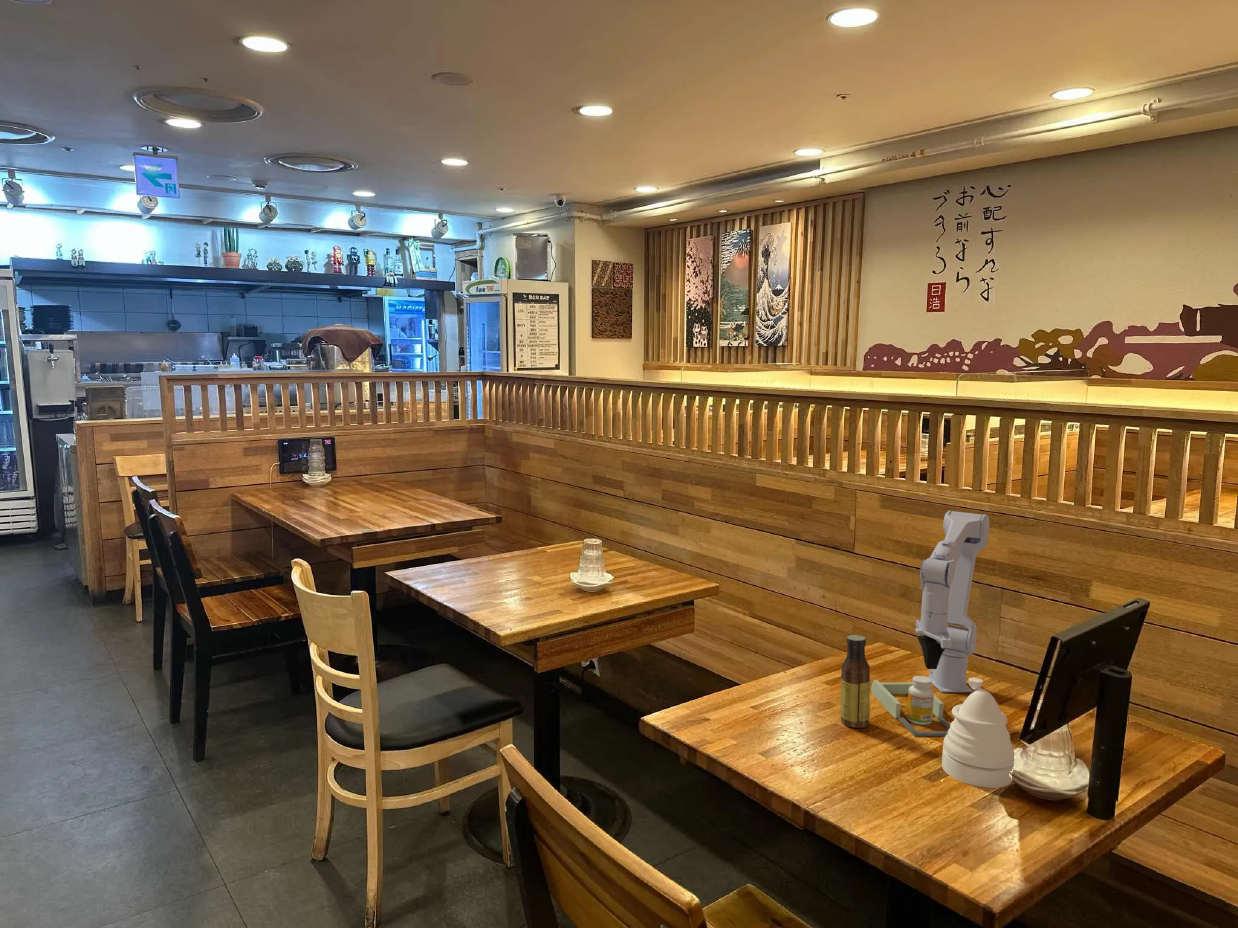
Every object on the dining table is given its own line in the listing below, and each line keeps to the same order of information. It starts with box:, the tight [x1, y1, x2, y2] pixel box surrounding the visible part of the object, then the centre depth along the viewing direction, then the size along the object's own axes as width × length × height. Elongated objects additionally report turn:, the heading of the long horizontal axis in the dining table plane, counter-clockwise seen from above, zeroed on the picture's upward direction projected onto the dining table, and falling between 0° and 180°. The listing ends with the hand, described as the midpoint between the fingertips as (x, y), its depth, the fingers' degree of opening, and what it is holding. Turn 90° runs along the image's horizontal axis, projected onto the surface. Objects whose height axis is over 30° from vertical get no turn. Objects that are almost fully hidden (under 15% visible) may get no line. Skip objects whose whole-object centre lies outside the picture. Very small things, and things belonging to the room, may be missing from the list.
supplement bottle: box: [906, 675, 935, 726], centre depth 183 cm, size 5×5×10 cm
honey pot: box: [941, 677, 1015, 789], centre depth 160 cm, size 13×13×18 cm
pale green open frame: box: [870, 679, 944, 720], centre depth 192 cm, size 15×11×4 cm
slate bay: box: [897, 716, 951, 737], centre depth 180 cm, size 8×10×1 cm
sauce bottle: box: [840, 634, 871, 729], centre depth 180 cm, size 7×6×20 cm
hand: (930, 668), depth 188 cm, fingers closed
